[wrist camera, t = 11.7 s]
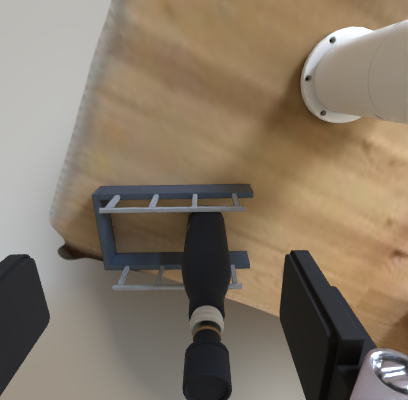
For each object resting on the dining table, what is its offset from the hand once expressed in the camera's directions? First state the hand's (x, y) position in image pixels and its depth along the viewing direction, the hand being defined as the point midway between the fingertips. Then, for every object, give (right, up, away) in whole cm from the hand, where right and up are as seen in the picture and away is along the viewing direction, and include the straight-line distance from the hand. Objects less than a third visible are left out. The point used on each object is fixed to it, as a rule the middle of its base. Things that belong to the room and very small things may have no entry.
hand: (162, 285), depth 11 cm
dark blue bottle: (+2, -1, +39) cm, 39 cm away
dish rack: (-3, -1, +39) cm, 39 cm away
